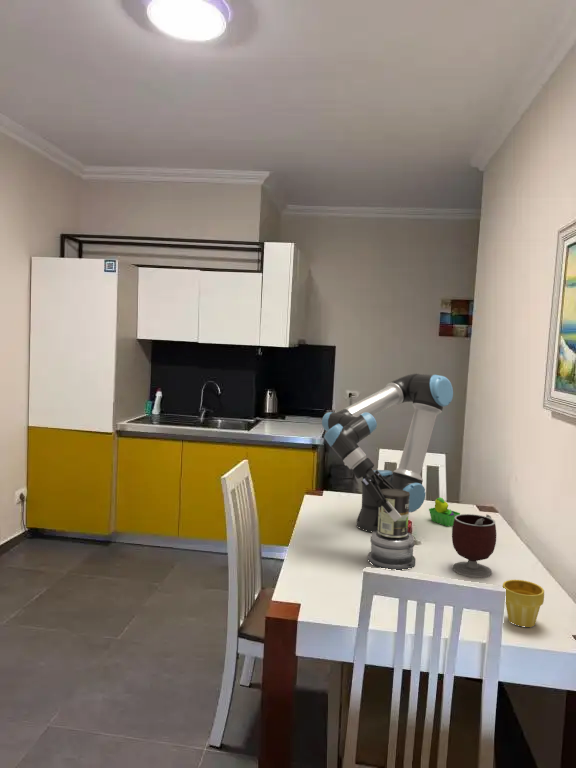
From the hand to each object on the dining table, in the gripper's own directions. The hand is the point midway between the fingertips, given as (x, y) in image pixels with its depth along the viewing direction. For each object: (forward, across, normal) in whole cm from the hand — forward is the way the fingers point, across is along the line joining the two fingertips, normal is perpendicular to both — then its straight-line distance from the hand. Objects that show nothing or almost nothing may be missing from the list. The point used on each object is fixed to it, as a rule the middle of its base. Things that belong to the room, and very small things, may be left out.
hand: (402, 514), depth 197 cm
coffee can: (+3, 0, -7) cm, 8 cm away
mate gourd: (+28, -4, +4) cm, 29 cm away
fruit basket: (+16, -54, -8) cm, 57 cm away
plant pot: (+40, +27, +16) cm, 51 cm away
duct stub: (+10, 0, -14) cm, 17 cm away
